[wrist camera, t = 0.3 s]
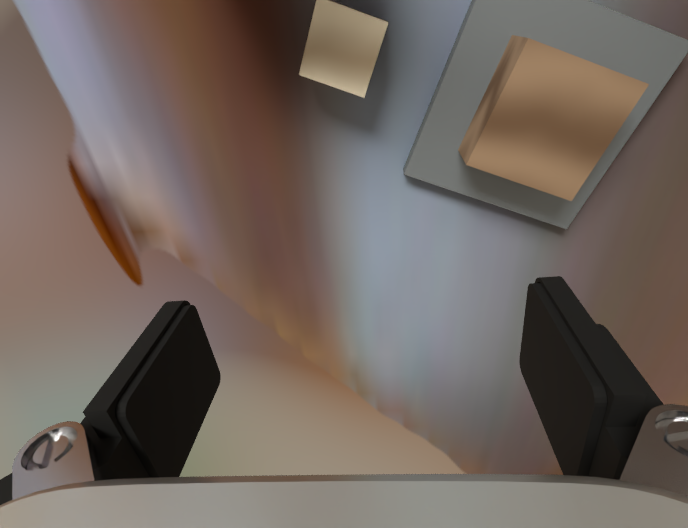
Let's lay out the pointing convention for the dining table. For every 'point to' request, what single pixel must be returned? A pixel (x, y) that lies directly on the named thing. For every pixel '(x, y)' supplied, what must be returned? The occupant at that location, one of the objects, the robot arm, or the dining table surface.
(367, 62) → the maple cube
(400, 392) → the dining table surface
